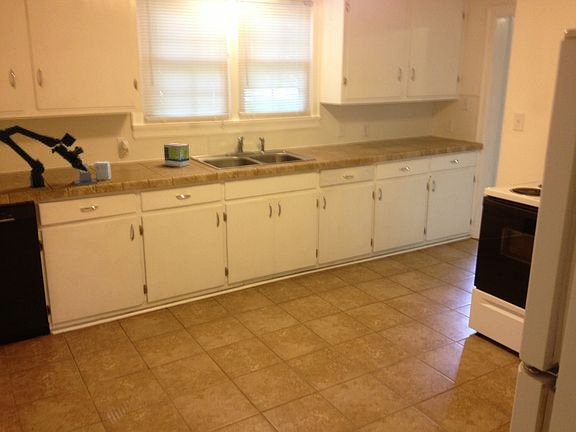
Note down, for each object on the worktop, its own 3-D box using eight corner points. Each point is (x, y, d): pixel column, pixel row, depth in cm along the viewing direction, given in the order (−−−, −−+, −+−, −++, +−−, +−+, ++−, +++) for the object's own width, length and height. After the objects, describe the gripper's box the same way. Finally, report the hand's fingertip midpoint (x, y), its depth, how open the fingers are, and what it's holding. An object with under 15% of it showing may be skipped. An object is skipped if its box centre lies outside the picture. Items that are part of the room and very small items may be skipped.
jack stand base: (75, 185, 314) (74, 175, 312) (73, 181, 324) (72, 171, 323) (97, 183, 319) (96, 173, 317) (94, 179, 330) (93, 169, 328)
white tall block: (81, 181, 319) (80, 164, 316) (81, 179, 322) (79, 163, 320) (89, 180, 320) (87, 163, 318) (88, 179, 324) (86, 162, 321)
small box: (111, 177, 335) (110, 161, 332) (108, 179, 330) (107, 163, 327) (98, 177, 335) (97, 161, 332) (95, 179, 329) (94, 163, 326)
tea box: (190, 165, 378) (189, 144, 374) (180, 167, 370) (179, 146, 366) (174, 162, 386) (173, 142, 382) (164, 165, 378) (163, 144, 374)
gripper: (75, 144, 305) (97, 162, 313) (72, 140, 321) (93, 157, 329) (62, 159, 304) (84, 176, 312) (60, 154, 320) (81, 170, 328)
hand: (86, 169), depth 320 cm, fingers open, 8 cm apart
